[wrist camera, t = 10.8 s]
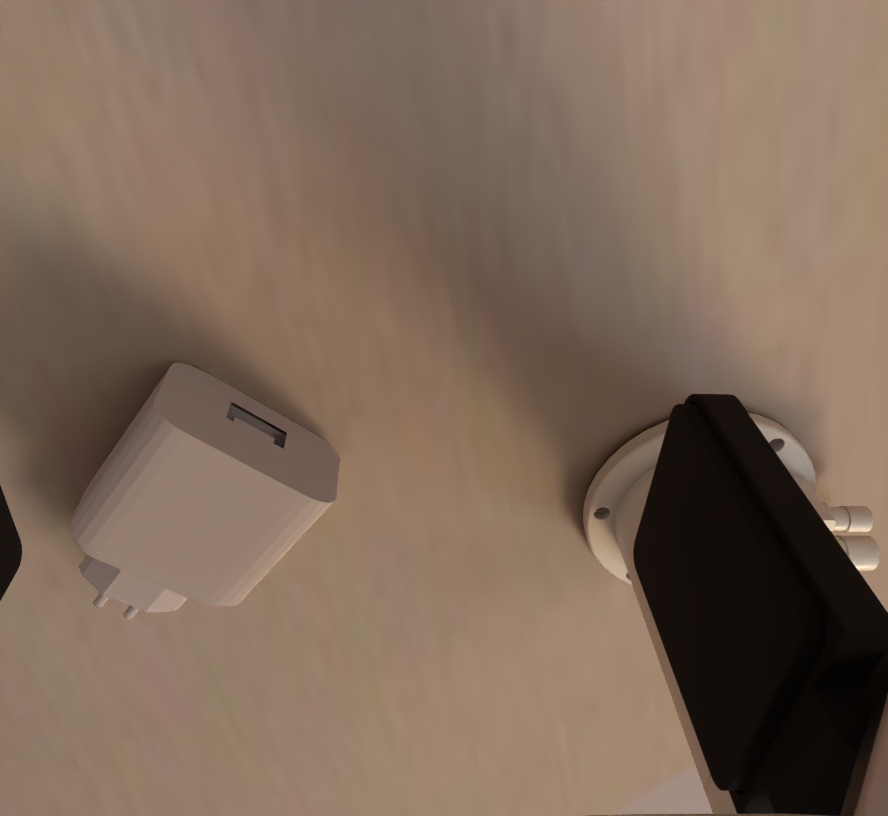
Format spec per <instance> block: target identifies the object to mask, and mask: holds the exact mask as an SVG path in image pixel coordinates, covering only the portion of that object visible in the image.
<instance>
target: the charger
mask: <svg viewBox="0 0 888 816" xmlns="http://www.w3.org/2000/svg"><path fill="white" fill-rule="evenodd" d="M339 462H340V458H339V455H338V453H337V452H336V451H335V449H334V448H333V447H332V446H331V445H330V444H328V443H327V442H326V441H324V440H323V439H322V438H320V437H319V436H317V435H316V434H314V433H312V432H311V431H309V430H307V429H305V428H304V427H302V426H300V425H298V424H297V423H295V422H293V421H291V420H290V419H288V418H286V417H284V416H282V415H281V414H279V413H277V412H275V411H274V410H272V409H270V408H268V407H267V406H265V405H263V404H261V403H260V402H258V401H256V400H254V399H253V398H251V397H249V396H247V395H245V394H244V393H242V392H240V391H238V390H237V389H235V388H233V387H231V386H230V385H228V384H226V383H224V382H223V381H221V380H219V379H217V378H215V377H214V376H212V375H210V374H208V373H206V372H204V371H202V370H200V369H198V368H196V367H193V366H191V365H188V364H184V363H173V364H172V365H171V366H170V368H169V369H168V371H167V372H166V373H165V375H164V376H163V378H162V379H161V381H160V382H159V384H158V385H157V386H156V388H155V389H154V391H153V392H152V394H151V395H150V397H149V398H148V399H147V401H146V402H145V404H144V405H143V407H142V408H141V410H140V411H139V412H138V414H137V415H136V417H135V418H134V420H133V421H132V423H131V424H130V425H129V427H128V428H127V430H126V431H125V433H124V434H123V436H122V437H121V438H120V440H119V441H118V443H117V444H116V446H115V447H114V449H113V450H112V451H111V453H110V454H109V456H108V457H107V459H106V460H105V462H104V463H103V464H102V466H101V467H100V469H99V470H98V472H97V473H96V475H95V476H94V477H93V479H92V480H91V482H90V483H89V485H88V487H87V489H86V491H85V493H84V495H83V497H82V499H81V500H80V502H79V504H78V506H77V508H76V510H75V512H74V514H73V516H72V518H71V519H70V521H69V523H68V531H69V532H70V534H71V536H72V537H73V539H74V540H75V542H76V543H77V545H78V546H79V547H80V549H81V550H82V551H83V552H84V553H86V554H87V555H86V557H85V558H84V559H83V561H82V562H81V563H80V565H79V568H80V571H81V573H82V575H83V576H84V577H85V578H86V579H87V580H88V581H89V582H90V583H91V584H92V585H93V586H94V587H95V588H96V589H97V590H98V591H99V592H100V594H99V595H98V596H97V598H96V599H95V600H94V602H93V604H94V605H95V606H96V607H102V606H103V605H104V603H105V602H106V601H107V600H108V598H112V599H114V600H117V601H119V602H122V603H124V604H126V605H129V608H128V609H127V610H126V611H125V612H124V614H123V616H124V617H125V618H126V619H132V618H133V616H134V615H135V614H136V613H137V612H138V610H141V611H144V612H173V611H175V610H177V609H179V608H180V607H181V606H182V605H183V603H184V602H185V601H186V600H187V599H191V600H193V601H195V602H198V603H200V604H203V605H207V606H235V605H238V604H239V603H240V602H241V601H242V600H243V599H244V598H245V597H246V596H247V595H248V594H249V593H250V592H251V591H252V589H253V588H254V587H255V586H256V585H257V584H258V583H259V582H260V581H261V580H262V579H263V578H264V577H265V575H266V574H267V573H268V572H269V571H270V570H271V569H272V568H273V567H274V566H275V565H276V564H277V563H278V561H279V560H280V559H281V558H282V557H283V556H284V555H285V554H286V553H287V552H288V551H289V550H290V549H291V547H292V546H293V545H294V544H295V543H296V542H297V541H298V540H299V539H300V538H301V537H302V536H303V535H304V533H305V532H306V531H307V530H308V529H309V528H310V527H311V526H312V525H313V524H314V523H315V522H316V521H317V519H318V518H319V517H320V516H321V515H322V514H323V513H324V512H325V511H326V510H327V509H328V508H329V507H330V505H331V504H332V503H333V502H334V501H335V499H336V493H337V482H338V472H339Z"/></svg>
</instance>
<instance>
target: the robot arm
mask: <svg viewBox="0 0 888 816" xmlns="http://www.w3.org/2000/svg"><path fill="white" fill-rule="evenodd" d="M583 525H584V529H585V534H586V538H587V541H588V543H589V546H590V548H591V551H592V554H593V555H594V556H595V558H596V559H597V560H598V562H599V563H600V565H601V566H602V567H604V568H605V569H606V570H607V571H608V572H610V573H611V574H612V575H613V576H615V577H617V578H618V579H620V580H622V581H624V582H626V583H629V584H632V585H633V588H634V591H635V594H636V597H637V600H638V602H639V605H640V608H641V611H642V614H643V617H644V619H645V622H646V625H647V628H648V631H649V634H650V637H651V639H652V642H653V645H654V648H655V651H656V654H657V656H658V659H659V662H660V665H661V668H662V671H663V673H664V676H665V679H666V682H667V685H668V688H669V690H670V693H671V696H672V699H673V702H674V705H675V708H676V710H677V713H678V716H679V719H680V722H681V725H682V727H683V730H684V733H685V736H686V739H687V742H688V744H689V747H690V750H691V753H692V756H693V759H694V761H695V764H696V767H697V770H698V773H699V776H700V779H701V781H702V784H703V787H704V790H705V793H706V796H707V798H708V801H709V803H710V806H711V809H712V812H713V814H632V815H589V816H888V613H887V611H886V610H885V608H884V607H883V605H882V604H881V603H880V601H879V600H878V598H877V597H876V595H875V594H874V593H873V591H872V590H871V588H870V587H869V585H868V584H867V583H866V581H865V580H864V578H863V577H862V575H861V574H860V573H859V571H871V570H875V568H876V567H877V566H878V564H879V559H880V553H879V547H878V545H877V543H876V541H875V540H874V539H873V538H871V537H870V536H834V535H833V534H832V531H842V532H869V531H870V530H871V529H872V526H873V515H872V513H871V511H870V509H869V508H867V507H866V506H840V507H829V506H828V505H827V504H826V503H823V502H822V501H821V500H820V498H819V497H818V495H817V494H816V476H815V472H814V468H813V464H812V461H811V460H810V458H809V456H808V455H807V453H806V451H805V450H804V448H803V447H802V446H801V444H800V443H799V442H798V441H797V440H796V438H795V437H794V436H793V435H792V434H791V432H789V431H788V430H786V429H785V428H784V427H782V426H781V425H779V424H778V423H776V422H774V421H772V420H770V419H767V418H765V417H762V416H760V415H757V414H752V413H748V412H747V411H746V409H745V408H744V407H743V405H742V404H741V402H740V401H739V400H738V399H737V398H736V397H735V396H734V395H728V394H692V395H690V396H688V398H687V399H686V400H685V403H684V404H677V405H675V406H674V408H673V409H672V412H671V415H670V418H669V420H667V421H665V422H663V423H661V424H659V425H656V426H654V427H652V428H650V429H648V430H646V431H644V432H642V433H641V434H639V435H638V436H636V437H635V438H633V439H632V440H630V441H628V442H627V443H626V444H624V445H623V446H622V447H621V448H620V449H619V450H618V451H616V452H615V453H614V454H613V455H612V456H611V457H610V458H609V459H608V460H607V461H606V463H605V464H604V465H603V466H602V468H601V469H600V470H599V471H598V473H597V474H596V476H595V478H594V480H593V482H592V483H591V485H590V487H589V489H588V492H587V495H586V499H585V502H584V506H583ZM21 557H22V545H21V541H20V538H19V535H18V532H17V530H16V527H15V524H14V522H13V519H12V516H11V513H10V511H9V508H8V505H7V502H6V500H5V497H4V494H3V491H2V489H1V486H0V600H1V599H2V597H3V595H4V593H5V592H6V590H7V588H8V586H9V584H10V583H11V581H12V579H13V577H14V576H15V574H16V572H17V570H18V568H19V566H20V562H21Z"/></svg>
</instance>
